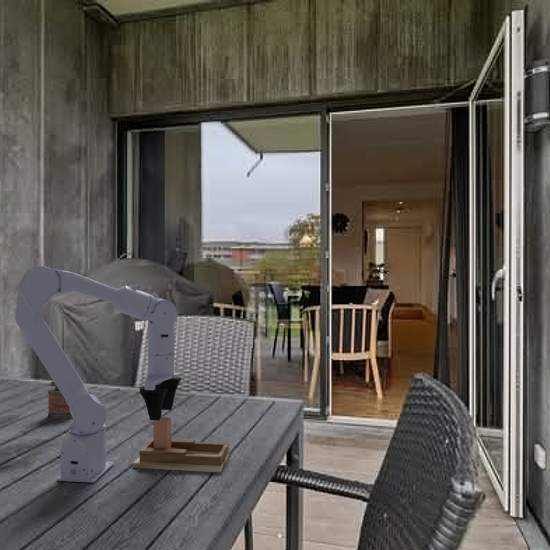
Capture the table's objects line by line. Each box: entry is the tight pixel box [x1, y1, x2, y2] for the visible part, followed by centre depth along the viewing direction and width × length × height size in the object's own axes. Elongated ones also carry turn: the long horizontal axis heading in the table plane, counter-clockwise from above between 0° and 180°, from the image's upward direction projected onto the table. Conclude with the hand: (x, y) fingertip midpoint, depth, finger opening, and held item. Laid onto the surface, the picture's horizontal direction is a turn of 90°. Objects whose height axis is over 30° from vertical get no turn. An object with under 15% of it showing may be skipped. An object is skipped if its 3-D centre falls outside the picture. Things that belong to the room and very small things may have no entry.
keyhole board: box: [132, 437, 231, 473], centre depth 113 cm, size 10×19×3 cm, turn 83°
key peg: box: [153, 416, 177, 449], centre depth 114 cm, size 5×5×8 cm
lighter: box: [47, 380, 73, 419], centre depth 145 cm, size 8×3×10 cm, turn 92°
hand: (161, 414), depth 114 cm, fingers open, 7 cm apart
